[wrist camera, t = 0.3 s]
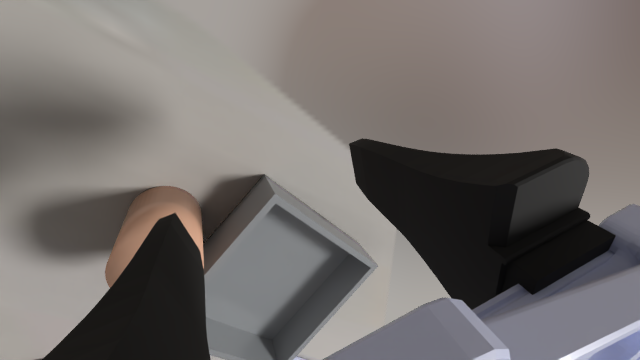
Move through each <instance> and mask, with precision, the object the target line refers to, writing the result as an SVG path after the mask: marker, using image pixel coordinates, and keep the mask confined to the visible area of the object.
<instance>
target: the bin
mask: <svg viewBox="0 0 640 360" xmlns="http://www.w3.org/2000/svg"><path fill="white" fill-rule="evenodd" d="M203 254H204V279H205V306H206V330H207V341H208V347H209V354H210V355H212V356H216V357H219V358H223V359H226V360H293V359H294V358H295V357H296V356H297V355H298V354H299V353H300V352H301V350H302V349H303V348H304V347H305V346H306V345H307V344H308V343H309V342H310V341H311V339H312V338H313V337H314V336H315V335H316V334H317V333H318V332H319V331H320V330H321V328H322V327H323V326H324V325H325V324H326V323H327V322H328V321H329V320H330V318H331V317H332V316H333V315H334V314H335V313H336V312H337V311H338V310H339V309H340V307H341V306H342V305H343V304H344V303H345V302H346V301H347V300H348V299H349V298H350V296H351V295H352V294H353V293H354V292H355V291H356V290H357V289H358V288H359V287H360V285H361V284H362V283H363V282H364V281H365V280H366V279H367V278H368V277H369V276H370V274H371V273H372V272H373V271H374V270H375V269H376V268H377V267H378V265H377V264H376V263H375V262H374V260H373V259H372V258H371V257H370V256H369V254H368V253H367V252H366V251H365V250H364V249H363V247H362V246H361V245H360V244H359V243H358V242H357V241H355V240H354V239H352V238H351V237H350V236H348V235H347V234H346V233H344V232H343V231H341V230H340V229H339V228H337V227H336V226H335V225H333V224H332V223H330V222H329V221H328V220H326V219H325V218H324V217H322V216H321V215H319V214H318V213H317V212H315V211H314V210H313V209H311V208H310V207H308V206H307V205H306V204H304V203H303V202H302V201H300V200H299V199H297V198H296V197H295V196H293V195H292V194H291V193H289V192H288V191H286V190H285V189H284V188H282V187H281V186H280V185H278V184H277V183H275V182H274V181H273V180H271V179H270V178H269V177H267V176H266V175H265V174H264V175H263V176H262V178H261V179H260V180H259V181H258V182H257V183H256V184H255V186H254V187H253V188H252V189H251V190H250V191H249V193H248V194H247V195H246V196H245V197H244V198H243V200H242V201H241V202H240V203H239V204H238V205H237V207H236V208H235V209H234V210H233V211H232V212H231V213H230V215H229V216H228V217H227V218H226V219H225V220H224V222H223V223H222V224H221V225H220V226H219V227H218V229H217V230H216V231H215V232H214V233H213V234H212V236H211V237H210V238H209V239H208V240H207V241H206V243H205V244H204V245H203Z"/></svg>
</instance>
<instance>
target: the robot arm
mask: <svg viewBox="0 0 640 360" xmlns="http://www.w3.org/2000/svg"><path fill="white" fill-rule="evenodd" d="M349 146H350V151H351V157H352V162H353V168H354V173H355V179H356V184H357V185H358V186H359V188H360V189H361V191H362V192H363V193H364V195H365V196H366V197H367V199H368V200H369V201H370V202H371V203H372V204H373V205H374V206H375V207H376V208H377V209H378V210H379V211H380V212H381V213H382V214H383V215H384V216H385V217H386V218H387V219H388V220H389V221H390V222H391V223H392V224H393V225H394V226H395V227H396V228H397V229H398V230H399V231H400V232H401V233H402V234H403V235H404V236H405V237H406V239H407V240H408V241H409V242H410V243H411V245H412V246H413V247H414V248H415V250H416V251H417V252H418V253H419V255H420V256H421V257H422V258H423V260H424V261H425V262H426V264H427V265H428V266H429V268H430V269H431V270H432V272H433V273H434V274H435V275H436V277H437V278H438V280H439V281H440V283H441V284H442V285H443V287H444V288H445V290H446V291H447V292H448V294H449V295H450V296H451V298H440V299H437V300H434V301H432V302H429V303H426V304H423V305H421V306H420V307H418V308H416V309H414V310H412V311H410V312H409V313H407V314H405V315H403V316H401V317H399V318H398V319H396V320H394V321H392V322H390V323H389V324H387V325H385V326H383V327H381V328H379V329H378V330H376V331H374V332H372V333H370V334H368V335H367V336H365V337H363V338H361V339H359V340H357V341H356V342H354V343H352V344H350V345H348V346H346V347H345V348H343V349H341V350H339V351H337V352H335V353H334V354H332V355H330V356H328V357H326V358H324V359H323V360H640V206H638V205H635V204H632V205H628V206H626V207H625V208H623V209H621V210H619V211H617V212H616V213H614V214H612V215H610V216H609V217H607V218H606V219H604V220H603V221H602V222H601V223H600V225H599V226H597V225H595V224H593V223H591V222H590V221H587V220H588V219H589V218H590V214H589V213H588V212H586V211H584V210H582V209H580V208H578V206H579V204H580V201H581V198H582V196H583V193H584V190H585V187H586V184H587V181H588V177H589V167H588V164H587V162H586V161H585V160H584V159H583V158H581V157H578V156H575V155H573V154H571V153H568V152H565V151H563V150H559V149H549V150H540V151H532V152H523V153H510V154H492V155H491V154H490V155H465V154H448V153H437V152H429V151H423V150H417V149H411V148H406V147H401V146H396V145H391V144H387V143H383V142H378V141H374V140H369V139H360V140H357V141H355V142H352V143H350V144H349ZM42 360H210V354H209V347H208V341H207V330H206V306H205V279H204V269H203V263H202V258H201V253H200V250H199V248H198V247H197V245H196V243H195V242H194V240H193V239H192V237H191V236H190V234H189V233H188V231H187V230H186V228H185V227H184V225H183V223H182V222H181V220H180V219H179V217H178V216H177V214H176V213H173V214H170V215H168V216H165V217H163V218H160V219H158V221H157V222H156V223H155V225H154V226H153V228H152V229H151V231H150V232H149V234H148V235H147V237H146V238H145V240H144V242H143V243H142V245H141V246H140V248H139V249H138V251H137V252H136V254H135V255H134V257H133V258H132V260H131V261H130V262H129V264H128V265H127V266H126V268H125V269H124V271H123V272H122V273H121V275H120V276H119V277H118V279H117V280H116V281H115V283H114V284H113V285H112V287H111V288H110V289H109V290H108V292H107V293H106V294H105V295H104V296H103V298H102V299H101V300H100V301H99V302H98V303H97V305H96V306H95V307H94V308H93V309H92V310H91V311H90V312H89V314H88V315H87V316H86V317H85V318H84V319H83V320H82V321H81V322H80V323H79V324H78V325H77V326H76V327H75V328H74V329H73V330H72V331H71V332H70V333H69V334H68V335H67V336H66V337H65V338H64V339H63V340H62V341H61V342H60V343H59V344H58V345H57V346H56V347H55V348H54V349H53V350H52V351H51V352H50V353H49V354H48V355H47V356H46V357H44V358H43V359H42ZM293 360H306V359H303V358H300V357H297V356H296V357H295V358H294V359H293Z"/></svg>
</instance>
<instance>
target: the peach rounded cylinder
mask: <svg viewBox="0 0 640 360" xmlns="http://www.w3.org/2000/svg"><path fill="white" fill-rule="evenodd" d="M173 213H176V214H177V216H178V217H179V219H180V220H181V222H182V223H183V225H184V227H185V228H186V230H187V231H188V233H189V234H190V236H191V237H192V239H193V240H194V242H195V243H196V245H197V247H198V248H199V250H200V253H201V258H202V263H203V269H204V254H203V233H202V213H201V208H200V205H199V203H198V201H197V200H196V199H195V198H194V197H193V196H192V195H191V194H190V193H188V192H187V191H185V190H183V189H180V188H176V187H171V186H160V187H154V188H151V189H148V190H146V191H144V192H143V193H141V194H140V195H138V196H137V197H136V198H135V199H134V200H133V202H132V203H131V205H130V207H129V210H128V212H127V215H126V217H125V220H124V222H123V225H122V227H121V230H120V232H119V235H118V237H117V240H116V242H115V245H114V247H113V249H112V252H111V254H110V257H109V259H108V262H107V265H106V270H105V276H106V281H107V283H108V285H109V287H110V288H111V287H112V285H113V284H114V283H115V281H116V280H117V279H118V277H119V276H120V275H121V273H122V272H123V271H124V269H125V268H126V266H127V265H128V264H129V262H130V261H131V260H132V258H133V257H134V255H135V254H136V252H137V251H138V249H139V248H140V246H141V245H142V243H143V242H144V240H145V238H146V237H147V235H148V234H149V232H150V231H151V229H152V228H153V226H154V225H155V223H156V222H157V221H158V219H160V218H163V217H165V216H168V215H170V214H173Z"/></svg>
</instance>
